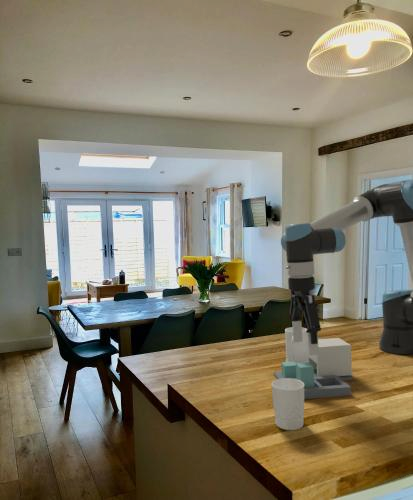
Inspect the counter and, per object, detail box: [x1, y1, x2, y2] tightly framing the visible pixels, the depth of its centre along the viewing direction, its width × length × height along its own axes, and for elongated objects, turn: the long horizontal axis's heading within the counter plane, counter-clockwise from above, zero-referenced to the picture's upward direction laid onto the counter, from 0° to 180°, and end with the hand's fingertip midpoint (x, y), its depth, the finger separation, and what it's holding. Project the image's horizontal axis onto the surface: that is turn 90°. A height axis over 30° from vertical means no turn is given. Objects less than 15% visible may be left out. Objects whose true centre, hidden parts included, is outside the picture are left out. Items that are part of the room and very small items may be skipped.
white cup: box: [271, 378, 305, 431], centre depth 96 cm, size 8×8×10 cm
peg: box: [296, 362, 314, 388], centre depth 115 cm, size 4×4×8 cm
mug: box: [284, 327, 308, 364], centre depth 142 cm, size 12×8×12 cm
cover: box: [307, 337, 353, 376], centre depth 127 cm, size 11×9×10 cm
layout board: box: [273, 361, 355, 382], centre depth 127 cm, size 23×10×5 cm, turn 95°
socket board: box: [292, 375, 352, 400], centre depth 116 cm, size 16×10×2 cm, turn 95°
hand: (305, 348), depth 115 cm, fingers open, 13 cm apart
